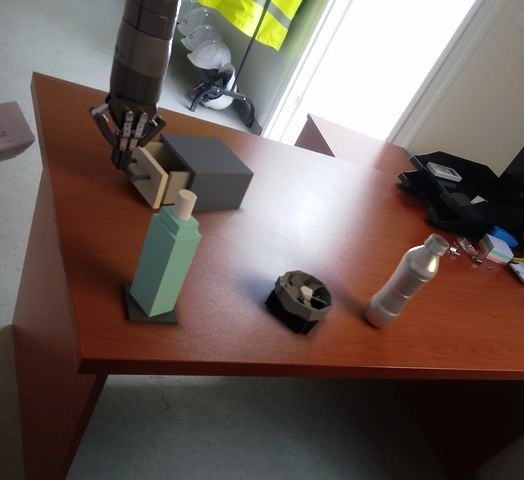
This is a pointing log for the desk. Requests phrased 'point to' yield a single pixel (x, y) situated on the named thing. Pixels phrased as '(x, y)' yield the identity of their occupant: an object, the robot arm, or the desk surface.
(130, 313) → the mat
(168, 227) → the soap bottle
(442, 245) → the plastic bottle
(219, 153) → the cabinet
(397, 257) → the desk surface
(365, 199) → the desk surface
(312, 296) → the cpu cooler
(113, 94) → the robot arm
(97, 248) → the desk surface
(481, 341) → the desk surface
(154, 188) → the drawer
